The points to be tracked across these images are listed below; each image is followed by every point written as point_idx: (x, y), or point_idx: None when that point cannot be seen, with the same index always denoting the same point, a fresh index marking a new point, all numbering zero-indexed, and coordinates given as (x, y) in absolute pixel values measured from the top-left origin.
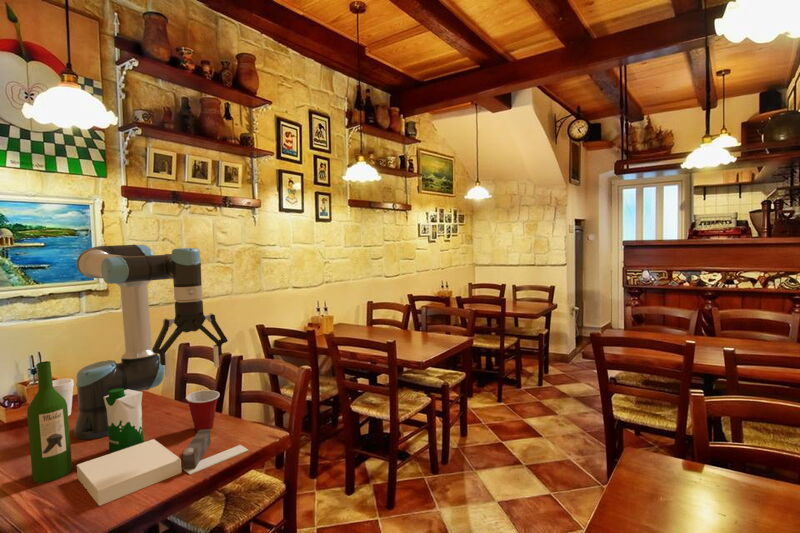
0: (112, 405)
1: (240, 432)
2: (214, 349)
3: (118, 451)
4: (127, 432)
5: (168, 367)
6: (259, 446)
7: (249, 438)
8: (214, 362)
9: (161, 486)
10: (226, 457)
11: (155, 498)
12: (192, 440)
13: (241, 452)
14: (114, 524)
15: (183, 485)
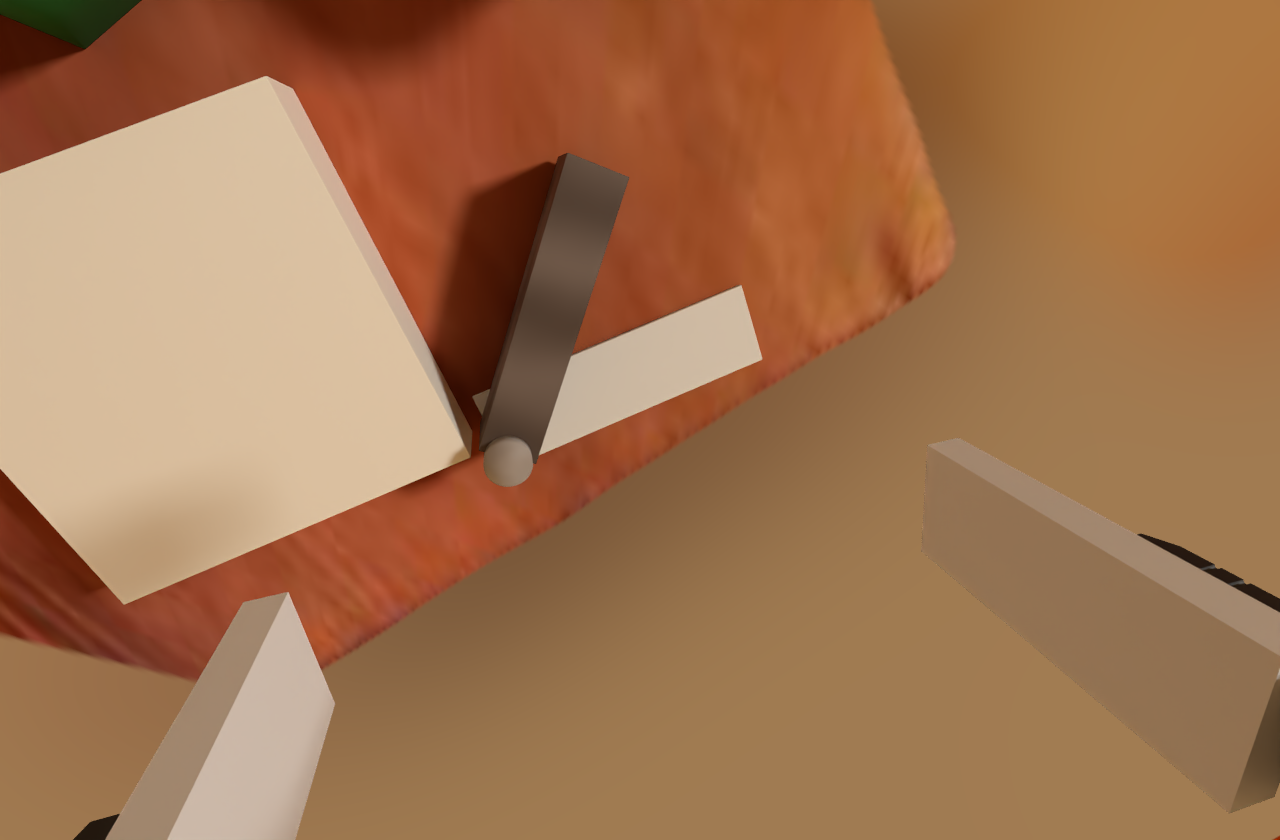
0: None
1: (776, 103)
2: (1165, 676)
3: (50, 169)
4: (13, 2)
5: (289, 835)
6: (809, 338)
7: (795, 219)
8: (962, 489)
9: (397, 510)
10: (663, 390)
11: (387, 586)
12: (525, 303)
13: (729, 372)
14: None
15: (485, 536)
